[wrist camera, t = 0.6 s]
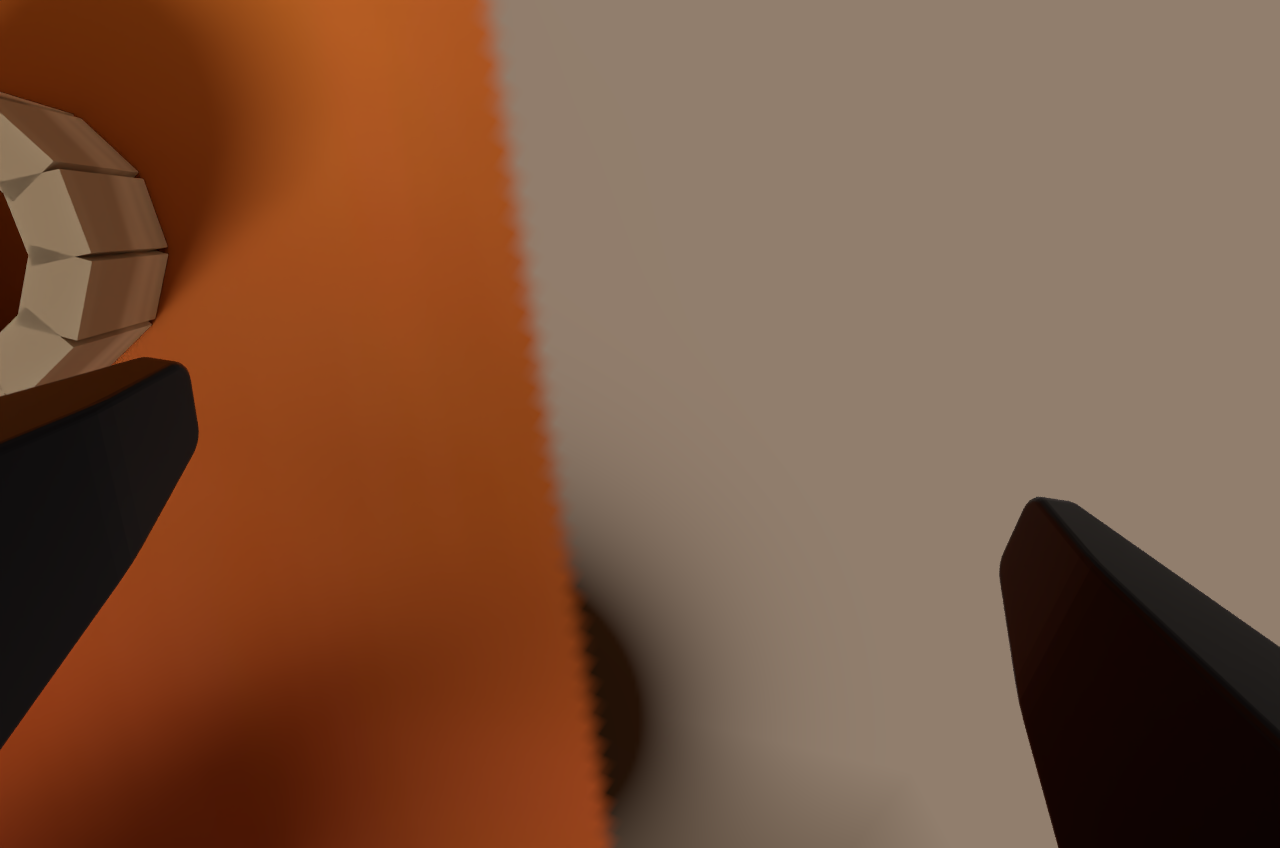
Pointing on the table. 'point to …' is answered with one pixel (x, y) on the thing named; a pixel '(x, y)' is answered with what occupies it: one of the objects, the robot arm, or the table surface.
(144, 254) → the wooden ring
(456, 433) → the table surface
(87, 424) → the robot arm
